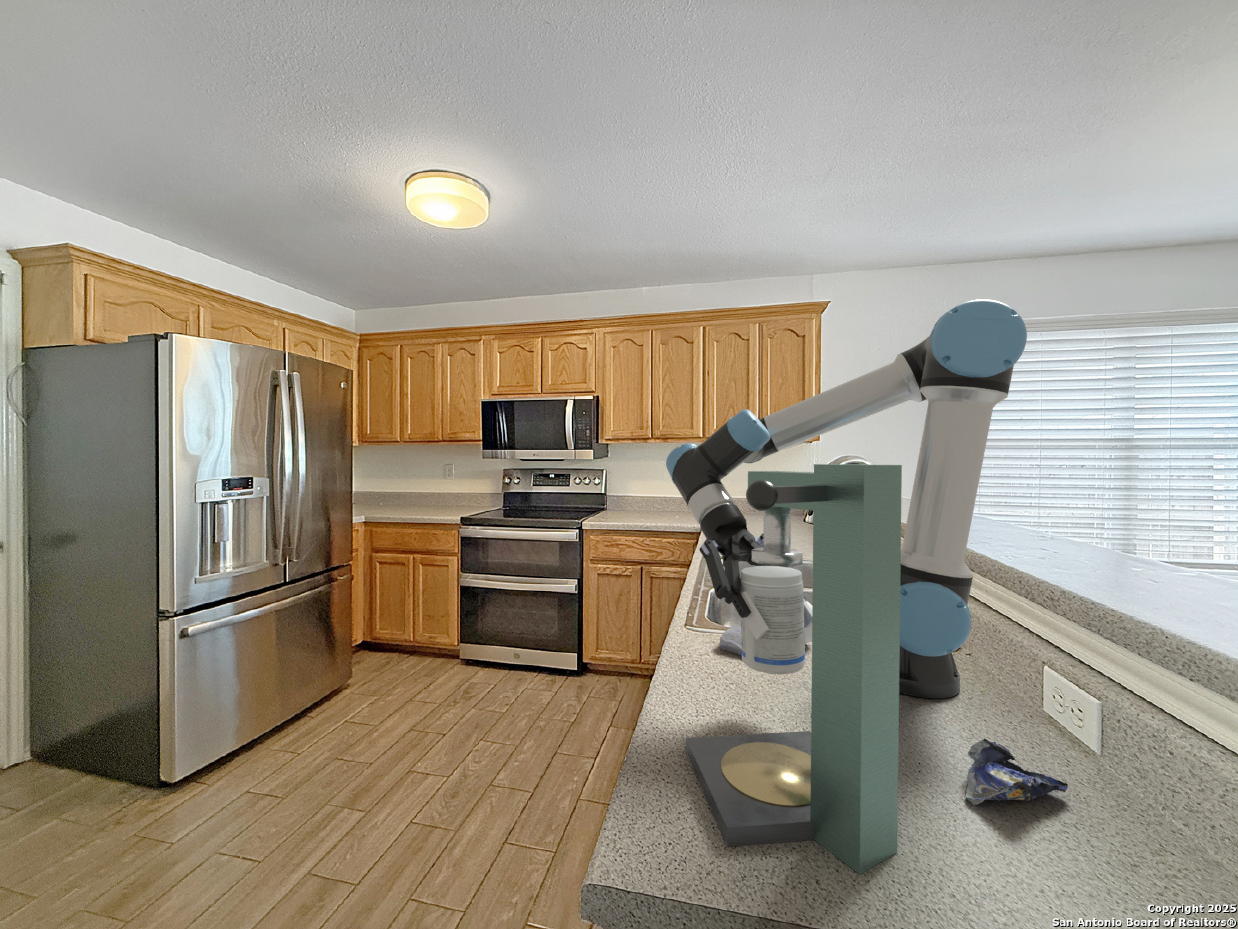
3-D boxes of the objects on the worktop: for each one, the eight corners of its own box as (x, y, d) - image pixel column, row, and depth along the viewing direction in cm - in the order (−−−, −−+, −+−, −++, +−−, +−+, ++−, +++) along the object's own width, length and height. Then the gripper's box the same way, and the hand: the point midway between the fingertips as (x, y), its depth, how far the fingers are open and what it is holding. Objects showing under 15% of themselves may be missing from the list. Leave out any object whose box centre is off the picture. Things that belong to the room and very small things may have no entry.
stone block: (771, 672, 106) (783, 647, 115) (769, 650, 106) (782, 626, 114) (715, 662, 113) (730, 639, 121) (713, 641, 112) (728, 619, 120)
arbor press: (809, 745, 76) (812, 463, 75) (921, 871, 53) (926, 465, 52) (685, 752, 74) (687, 462, 73) (744, 887, 50) (748, 464, 50)
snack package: (925, 764, 72) (984, 822, 60) (933, 715, 72) (994, 764, 60) (1017, 782, 71) (1095, 844, 59) (1025, 733, 71) (1105, 785, 59)
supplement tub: (818, 667, 82) (817, 572, 82) (776, 682, 77) (775, 580, 77) (768, 649, 90) (767, 562, 90) (728, 661, 85) (727, 569, 85)
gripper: (753, 525, 102) (822, 629, 88) (657, 533, 91) (719, 654, 77) (774, 498, 97) (850, 605, 84) (675, 504, 87) (744, 628, 73)
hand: (787, 628), depth 81 cm, fingers closed on supplement tub, 9 cm apart
